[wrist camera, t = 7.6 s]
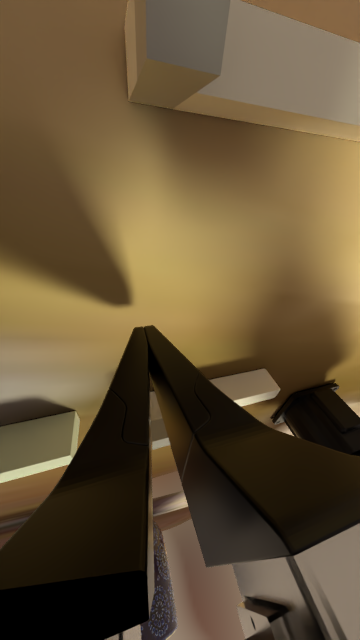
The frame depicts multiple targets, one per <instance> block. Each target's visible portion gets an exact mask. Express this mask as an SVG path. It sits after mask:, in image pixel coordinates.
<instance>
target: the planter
mask: <svg viewBox="0 0 360 640" xmlns="http://www.w3.org/2000/svg"><path fill="white" fill-rule="evenodd" d="M153 550H154V589H155V591H154V596H153V601H152V606H151V611H150V616H149V620H148V621H146V622H144V623H142V624H140V627H141V640H167V639H168V638H169V637H170V636H171V635H172V634H173V633H174V632H175V631H176V629H177V627H178V623H177V614H176V606H175V599H174V593H173V586H172V580H171V574H170V568H169V562H168V557H167V552H166V547H165V543H164V538H163V535H162V532H161V530H160V528H159V527H158V525H157V524H156V523H155V522H154V521H153Z"/></svg>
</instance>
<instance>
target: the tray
mask: <svg viewBox="0 0 360 640" xmlns="http://www.w3.org/2000/svg"><path fill="white" fill-rule="evenodd" d="M79 422H80V419H79V417H78V415H77V413H76V411H72V412H68V413H63V414H58V415H53V416H49V417H44V418H39V419H34V420H30V421H25V422H20V423H15V424H11V425H6V426H1V427H0V483H2V482H6V481H10V480H13V479H17V478H21V477H24V476H28V475H32V474H35V473H39V472H43V471H46V470H50V469H54V468H57V467H61V466H65V465H68V464H70V462H71V460H72V459H73V457H74V455H75V453H76V451H77V442H78V432H79Z"/></svg>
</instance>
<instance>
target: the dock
mask: <svg viewBox="0 0 360 640" xmlns="http://www.w3.org/2000/svg"><path fill="white" fill-rule="evenodd" d="M124 27H125V45H126V64H127V82H128V100H129V102H134V103H140V104H146V105H151V106H157V107H163V108H169V109H174V110H180V111H186V112H192V113H197V114H203V115H209V116H215V117H220V118H226V119H232V120H238V121H243V122H249V123H255V124H261V125H266V126H272V127H278V128H284V129H289V130H295V131H301V132H306V133H312V134H318V135H324V136H329V137H335V138H341V139H347V140H352V141H358V142H360V43H359V42H356V41H353V40H350V39H348V38H345V37H342V36H339V35H336V34H333V33H331V32H328V31H325V30H322V29H319V28H317V27H314V26H311V25H308V24H305V23H303V22H300V21H297V20H294V19H291V18H288V17H286V16H283V15H280V14H277V13H274V12H272V11H269V10H266V9H263V8H260V7H258V6H255V5H252V4H249V3H246V2H244V1H241V0H128V2H127V10H126V17H125V24H124ZM209 381H211V382H212V383H213V384H214V385H215V386H216V387H217V388H218V389H220V390H221V391H222V392H223V393H224V394H226V395H227V396H228V397H229V398H231V399H232V400H233V401H234V402H236V403H237V404H238V405H239V406H245V405H249V404H252V403H256V402H260V401H264V400H268V399H272V398H275V397H276V395H277V394H278V392H279V391H280V390H281V389H280V388H279V386H278V385H277V384H276V382H275V381H274V380H273V378H272V377H271V376H270V374H269V373H268V371H267V370H266V369H265V368H264V369H259V370H255V371H250V372H245V373H240V374H235V375H230V376H226V377H221V378H216V379H211V380H209ZM150 415H151V444H152V450H153V449H157V448H160V447H164V446H167V445H170V442H169V438H168V435H167V432H166V428H165V425H164V421H163V418H162V415H161V411H160V408H159V404H158V401H157V398H156V394H155V391H153V392H150Z"/></svg>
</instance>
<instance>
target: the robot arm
mask: <svg viewBox="0 0 360 640" xmlns="http://www.w3.org/2000/svg"><path fill="white" fill-rule="evenodd" d="M149 372H150V374H149ZM150 377H151V381H152V384H153V387H154V391H155V394H156V398H157V401H158V404H159V408H160V411H161V415H162V418H163V421H164V425H165V428H166V432H167V435H168V438H169V442H170V445H171V449H172V452H173V455H174V459H175V462H176V466H177V469H178V472H179V476H180V479H181V482H182V486H183V490H184V493H185V496H186V500H187V503H188V507H189V510H190V513H191V517H192V520H193V524H194V527H195V530H196V533H197V537H198V541H199V544H200V547H201V550H202V554H203V558H204V561H205V564H206V567H214V566H222V565H229V564H232V567H233V570H234V573H235V577H236V580H237V583H238V586H239V590H240V593H241V597H242V600H243V602H242V603H240V604H238V605H237V610H238V614H239V617H240V621H241V625H242V628H243V632H244V635H245V640H360V418H359V417H358V415H357V414H356V413H355V412H354V411H353V410H352V409H351V408H350V407H349V406H348V405H347V404H346V403H345V402H344V401H343V400H342V399H341V398H340V397H339V396H338V395H337V394H336V393H335V391H336V390H337V389H338V388H339V386H338V385H337V384H336V383H334V384H330V385H326V386H323V387H319V388H315V389H311V390H307V391H303V392H299V393H296V394H294V395H292V396H291V397H290V399H289V400H288V401H287V402H286V404H285V405H284V406H283V407H282V409H281V410H280V411H279V413H278V414H277V415H276V416H275V418H274V419H273V420H272V421H273V423H274V424H279V423H282V422H285V423H286V425H287V426H288V428H289V429H290V431H291V432H292V434H293V435H294V436H292V435H289V434H286V433H283V432H280V431H277V430H275V429H272V428H270V427H268V426H267V425H265V424H263V423H262V422H260V421H259V420H257V419H256V418H255V417H253V416H252V415H251V414H249V413H248V412H247V411H246V410H244V409H243V408H242V407H241V406H239V405H238V404H237V403H236V402H234V401H233V400H232V399H231V398H229V397H228V396H227V395H226V394H224V393H223V392H222V391H221V390H220V389H218V388H217V387H216V386H215V385H214V384H213V383H212V382H211V381H209V380H208V379H207V378H206V377H205V376H204V375H203V374H202V373H201V372H200V371H199V370H198V369H197V368H196V367H195V366H194V365H193V364H192V363H191V362H190V361H189V360H188V359H187V358H186V357H185V356H184V355H183V354H182V353H181V352H180V351H179V350H178V349H177V348H176V347H175V346H174V345H173V344H172V343H171V342H170V341H169V340H168V339H167V338H166V337H165V336H164V335H163V334H162V333H161V332H160V331H159V330H158V329H156V328H155V327H154V326H153V325H151V326H145V327H135V328H134V329H133V332H132V334H131V336H130V339H129V341H128V344H127V346H126V348H125V351H124V353H123V356H122V358H121V360H120V363H119V365H118V368H117V370H116V372H115V375H114V377H113V380H112V382H111V384H110V387H109V390H108V391H107V394H106V396H105V399H104V401H103V403H102V405H101V407H100V409H99V412H98V414H97V415H96V417H95V419H94V421H93V423H92V425H91V427H90V429H89V430H88V432H87V434H86V436H85V437H84V439H83V441H82V443H81V444H80V446H79V448H78V450H77V451H76V453H75V455H74V457H73V459H72V460H71V462H70V464H69V466H68V467H67V469H66V471H65V472H64V474H63V476H62V477H61V479H60V480H59V482H58V483H57V485H56V486H55V488H54V489H53V491H52V492H51V493H50V494H49V496H48V497H47V498H46V499H45V500H44V501H43V503H42V504H41V505H40V506H39V507H38V508H37V509H36V510H35V511H34V513H33V514H32V515H31V516H30V517H29V518H28V519H27V520H26V521H25V522H24V524H23V525H22V526H21V527H20V528H19V529H18V530H17V531H16V532H15V533H14V535H13V536H12V537H11V538H10V539H9V540H8V541H7V542H6V543H5V545H4V546H3V547H2V548H1V549H0V640H141V627H140V624H142V623H144V622H146V621H148V620H149V616H150V611H151V606H152V601H153V596H154V591H155V589H154V550H153V505H152V460H151V415H150Z"/></svg>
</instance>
